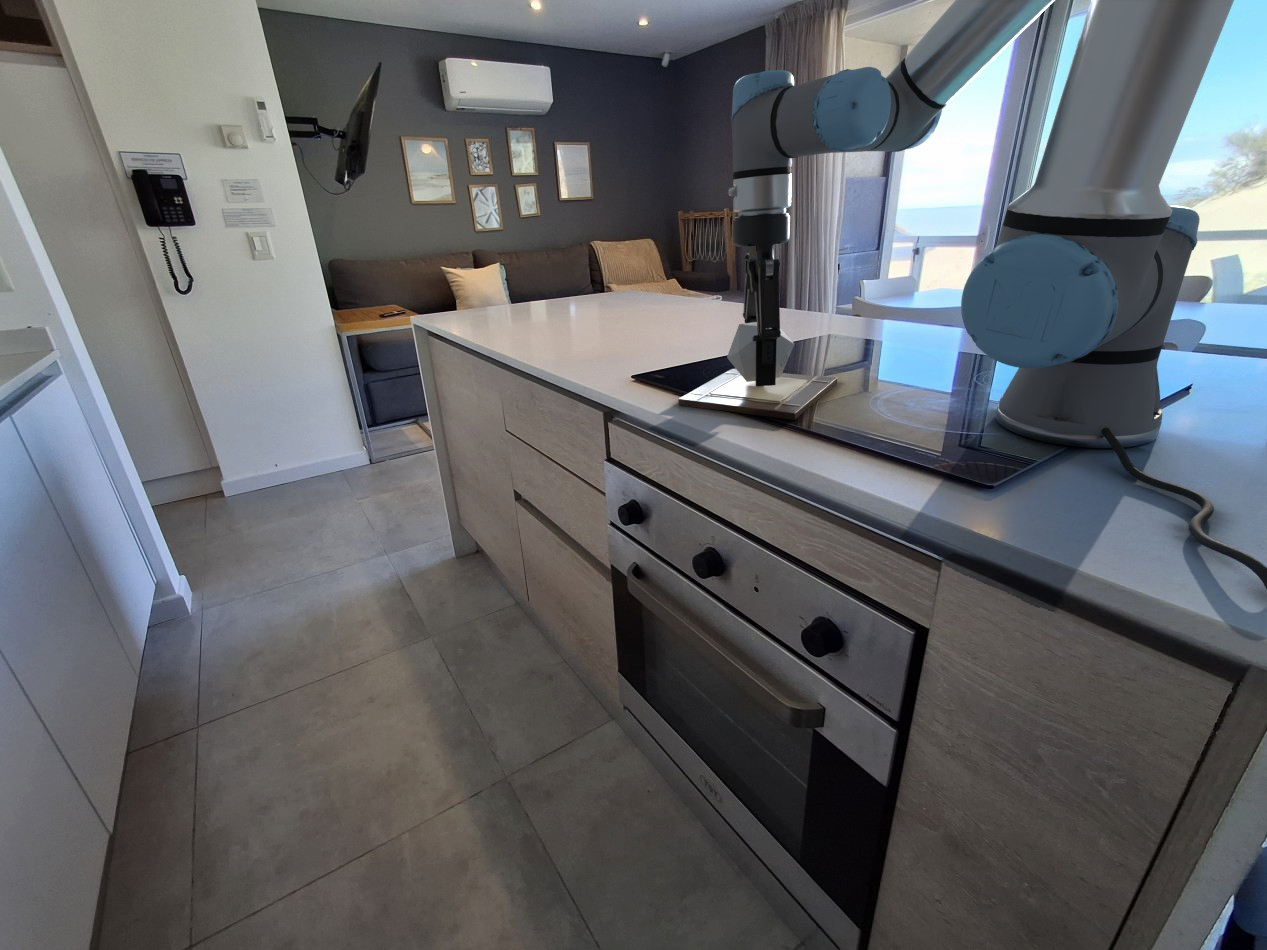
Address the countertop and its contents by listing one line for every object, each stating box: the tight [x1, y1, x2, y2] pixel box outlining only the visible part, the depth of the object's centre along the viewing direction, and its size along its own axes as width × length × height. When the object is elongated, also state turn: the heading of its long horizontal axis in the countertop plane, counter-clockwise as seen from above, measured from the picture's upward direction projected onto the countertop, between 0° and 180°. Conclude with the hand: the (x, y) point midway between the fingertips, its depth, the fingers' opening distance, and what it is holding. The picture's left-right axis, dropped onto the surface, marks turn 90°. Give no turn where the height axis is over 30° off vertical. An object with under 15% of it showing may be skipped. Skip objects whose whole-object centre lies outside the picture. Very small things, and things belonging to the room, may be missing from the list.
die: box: [726, 322, 795, 382], centre depth 84 cm, size 8×9×10 cm
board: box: [677, 368, 838, 421], centre depth 87 cm, size 18×18×1 cm
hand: (759, 375), depth 86 cm, fingers closed on die, 9 cm apart
